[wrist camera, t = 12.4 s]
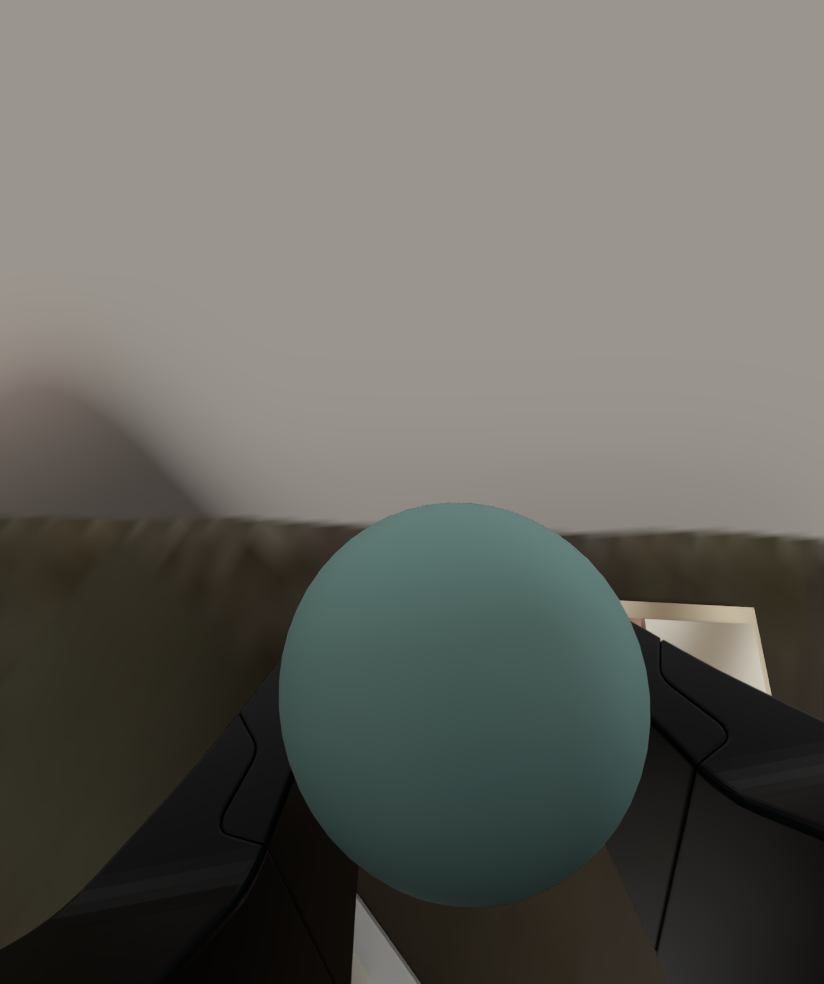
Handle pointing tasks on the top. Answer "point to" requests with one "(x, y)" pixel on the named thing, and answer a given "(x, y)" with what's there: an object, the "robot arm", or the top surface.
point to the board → (708, 635)
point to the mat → (378, 951)
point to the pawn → (464, 704)
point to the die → (358, 972)
